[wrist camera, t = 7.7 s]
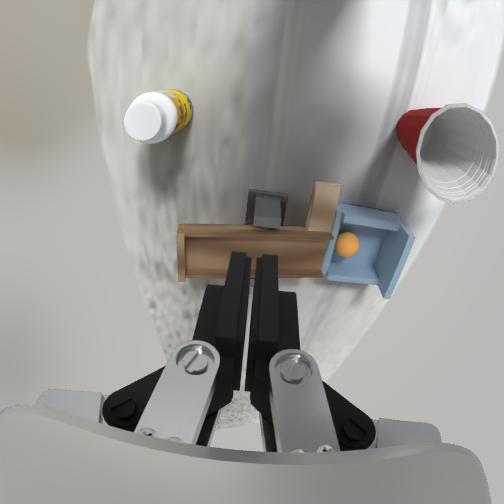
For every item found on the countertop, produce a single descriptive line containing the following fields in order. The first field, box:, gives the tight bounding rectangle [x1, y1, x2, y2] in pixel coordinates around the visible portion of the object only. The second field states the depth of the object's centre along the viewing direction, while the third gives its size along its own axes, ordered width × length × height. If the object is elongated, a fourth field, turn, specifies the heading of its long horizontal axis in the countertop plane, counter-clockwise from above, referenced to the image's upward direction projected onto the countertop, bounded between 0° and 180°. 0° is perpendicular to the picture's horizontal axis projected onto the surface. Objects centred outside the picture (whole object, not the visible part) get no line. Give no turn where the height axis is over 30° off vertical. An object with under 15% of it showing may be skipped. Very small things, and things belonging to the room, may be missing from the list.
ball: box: [335, 232, 359, 258], centre depth 40 cm, size 4×4×4 cm
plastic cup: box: [397, 103, 498, 203], centre depth 28 cm, size 11×11×12 cm
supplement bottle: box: [124, 90, 193, 144], centre depth 29 cm, size 6×6×10 cm
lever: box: [177, 181, 342, 282], centre depth 34 cm, size 12×18×3 cm
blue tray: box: [321, 203, 415, 299], centre depth 39 cm, size 10×10×7 cm
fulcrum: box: [245, 189, 288, 287], centre depth 38 cm, size 10×5×7 cm, turn 174°
